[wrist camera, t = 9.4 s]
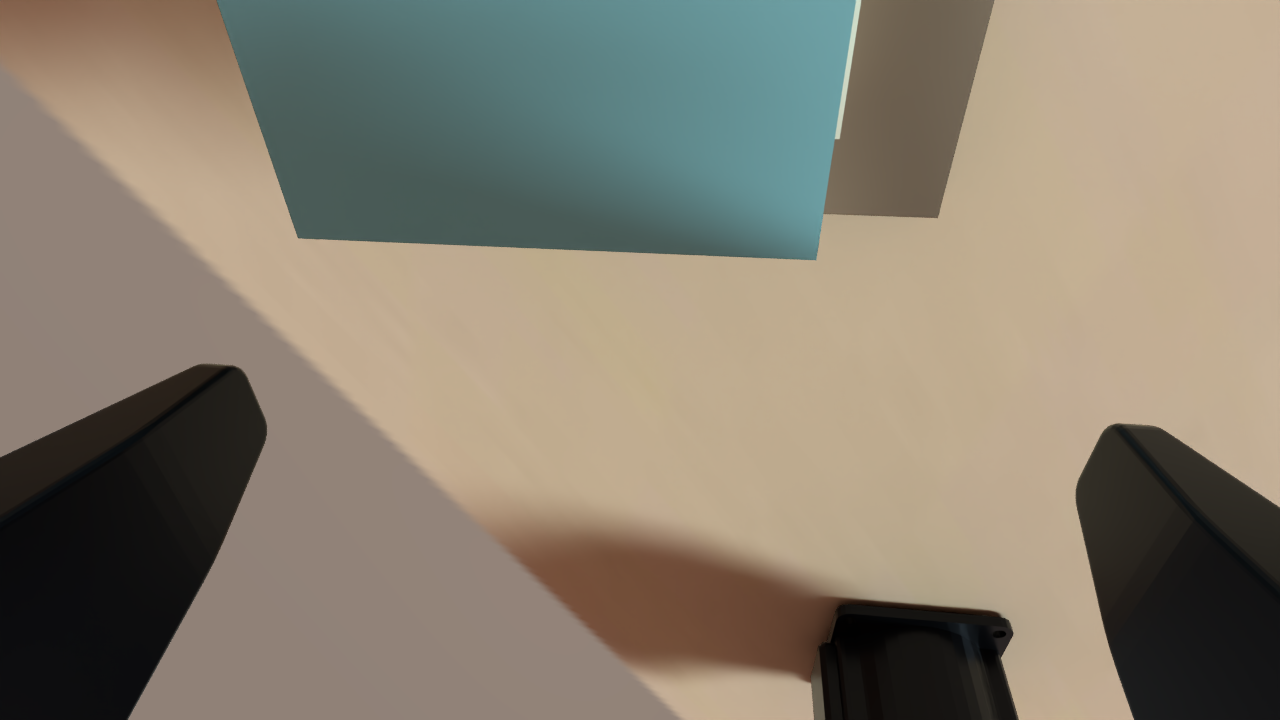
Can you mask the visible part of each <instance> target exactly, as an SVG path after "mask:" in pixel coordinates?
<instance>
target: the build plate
mask: <svg viewBox="0 0 1280 720" xmlns="http://www.w3.org/2000/svg"><path fill="white" fill-rule="evenodd" d="M993 4H994V0H856V4H855V11H854V17H853V24H852V30H851V37H850V43H849V50H848V56H847V63H846V69H845V76H844V82H843V89H842V95H841V102H840V108H839V115H838V121H837V128H836V134H835V141H834V147H833V154H832V160H831V167H830V173H829V180H828V186H827V193H826V199H825V206H824V212H823V214H841V215H869V216H897V217H925V218H938V215H939V211H940V207H941V203H942V199H943V195H944V192H945V188H946V184H947V180H948V176H949V172H950V169H951V165H952V161H953V157H954V153H955V149H956V146H957V142H958V138H959V134H960V130H961V126H962V123H963V119H964V115H965V111H966V107H967V103H968V99H969V96H970V92H971V88H972V84H973V80H974V76H975V73H976V69H977V65H978V61H979V57H980V53H981V50H982V46H983V42H984V38H985V34H986V30H987V27H988V23H989V19H990V15H991V11H992V7H993Z"/></svg>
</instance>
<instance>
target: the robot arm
mask: <svg viewBox="0 0 1280 720" xmlns="http://www.w3.org/2000/svg"><path fill="white" fill-rule="evenodd" d="M266 436H267V424H266V420H265V417H264V415H263V412H262V410H261V408H260V405H259V403H258V401H257V399H256V396H255V394H254V392H253V389H252V387H251V385H250V382H249V380H248V378H247V376H246V374H245V373H244V372H243V371H242V370H241V369H240V368H238V367H236V366H233V365H221V364H199V365H196V366H193V367H191V368H189V369H187V370H185V371H183V372H181V373H178V374H176V375H174V376H172V377H170V378H168V379H166V380H164V381H161V382H159V383H157V384H155V385H153V386H151V387H149V388H147V389H145V390H143V391H140V392H138V393H136V394H134V395H132V396H130V397H128V398H126V399H123V400H122V401H119V402H117V403H115V404H113V405H111V406H109V407H107V408H104V409H102V410H100V411H98V412H96V413H94V414H91V415H89V416H87V417H85V418H83V419H81V420H79V421H77V422H74V423H72V424H70V425H68V426H66V427H64V428H62V429H60V430H58V431H56V432H53V433H51V434H49V435H47V436H45V437H43V438H41V439H39V440H37V441H34V442H32V443H30V444H28V445H26V446H24V447H21V448H19V449H17V450H15V451H13V452H11V453H9V454H7V455H4V456H2V457H0V720H128V718H129V717H130V715H131V713H132V711H133V709H134V707H135V706H136V704H137V702H138V700H139V698H140V696H141V695H142V693H143V691H144V689H145V687H146V686H147V684H148V682H149V680H150V678H151V677H152V675H153V673H154V671H155V669H156V668H157V665H158V664H159V662H160V660H161V658H162V657H163V655H164V653H165V651H166V649H167V648H168V646H169V644H170V642H171V640H172V638H173V637H174V635H175V633H176V631H177V629H178V628H179V626H180V624H181V622H182V620H183V618H184V617H185V615H186V613H187V611H188V609H189V608H190V606H191V604H192V602H193V600H194V598H195V597H196V595H197V593H198V591H199V589H200V587H201V586H202V584H203V582H204V580H205V578H206V576H207V574H208V572H209V571H210V569H211V567H212V565H213V563H214V561H215V558H216V556H217V554H218V552H219V550H220V547H221V545H222V543H223V541H224V539H225V536H226V534H227V532H228V529H229V527H230V524H231V522H232V520H233V517H234V515H235V513H236V510H237V508H238V505H239V503H240V501H241V498H242V496H243V494H244V491H245V489H246V487H247V484H248V482H249V480H250V477H251V475H252V472H253V470H254V468H255V465H256V463H257V461H258V458H259V456H260V453H261V451H262V448H263V446H264V444H265V441H266ZM1076 505H1077V510H1078V515H1079V519H1080V524H1081V528H1082V533H1083V537H1084V541H1085V546H1086V550H1087V555H1088V559H1089V564H1090V568H1091V572H1092V577H1093V581H1094V586H1095V590H1096V595H1097V599H1098V603H1099V608H1100V612H1101V617H1102V621H1103V625H1104V629H1105V633H1106V637H1107V640H1108V644H1109V648H1110V651H1111V654H1112V657H1113V660H1114V663H1115V666H1116V669H1117V672H1118V675H1119V678H1120V681H1121V684H1122V687H1123V689H1124V692H1125V695H1126V698H1127V701H1128V704H1129V707H1130V709H1131V712H1132V715H1133V718H1134V720H1280V507H1278V506H1277V505H1275V504H1274V503H1272V502H1271V501H1269V500H1268V499H1266V498H1265V497H1263V496H1262V495H1260V494H1259V493H1257V492H1256V491H1254V490H1253V489H1251V488H1250V487H1248V486H1247V485H1245V484H1244V483H1242V482H1241V481H1239V480H1238V479H1236V478H1235V477H1233V476H1232V475H1230V474H1229V473H1227V472H1226V471H1224V470H1223V469H1221V468H1220V467H1218V466H1217V465H1215V464H1214V463H1212V462H1211V461H1209V460H1208V459H1206V458H1205V457H1203V456H1202V455H1200V454H1199V453H1197V452H1196V451H1194V450H1193V449H1192V448H1190V447H1189V446H1187V445H1186V444H1184V443H1183V442H1181V441H1180V440H1178V439H1177V438H1175V437H1174V436H1172V435H1171V434H1169V433H1168V432H1166V431H1164V430H1163V429H1161V428H1159V427H1156V426H1150V425H1136V424H1121V423H1118V424H1113V425H1110V426H1108V427H1107V428H1106V429H1105V430H1104V431H1103V433H1102V434H1101V436H1100V438H1099V440H1098V442H1097V444H1096V446H1095V448H1094V450H1093V452H1092V454H1091V456H1090V458H1089V460H1088V462H1087V464H1086V466H1085V468H1084V470H1083V472H1082V474H1081V476H1080V478H1079V480H1078V483H1077V487H1076ZM1012 636H1013V630H1012V627H1011V624H1010V622H1009V620H1007V619H1005V618H1001V617H990V616H979V615H967V614H955V613H944V612H932V611H920V610H908V609H897V608H885V607H873V606H862V605H842V606H840V607H838V608H837V609H836V610H835V614H834V617H833V621H832V625H831V629H830V633H829V637H828V641H827V642H823V643H822V644H821V645H820V646H819V647H818V650H817V654H816V658H815V663H814V667H813V671H812V675H811V685H812V699H813V712H814V720H1019V719H1018V715H1017V712H1016V709H1015V705H1014V702H1013V698H1012V695H1011V692H1010V688H1009V685H1008V681H1007V678H1006V674H1005V671H1004V668H1003V664H1002V661H1001V657H1002V655H1003V653H1004V651H1005V649H1006V647H1007V646H1008V644H1009V642H1010V640H1011V638H1012Z"/></svg>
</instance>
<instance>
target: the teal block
mask: <svg viewBox="0 0 1280 720" xmlns="http://www.w3.org/2000/svg"><path fill="white" fill-rule="evenodd" d="M217 3H218V6H219V9H220V12H221V15H222V18H223V21H224V24H225V27H226V30H227V32H228V35H229V38H230V41H231V44H232V47H233V50H234V53H235V56H236V59H237V62H238V65H239V67H240V70H241V73H242V76H243V79H244V82H245V85H246V88H247V91H248V94H249V97H250V99H251V102H252V105H253V108H254V111H255V114H256V117H257V120H258V123H259V126H260V129H261V132H262V134H263V137H264V140H265V143H266V146H267V149H268V152H269V155H270V158H271V161H272V164H273V167H274V169H275V172H276V175H277V178H278V181H279V184H280V187H281V190H282V193H283V196H284V199H285V202H286V204H287V207H288V210H289V213H290V216H291V219H292V222H293V225H294V228H295V231H296V234H297V237H298V238H303V239H327V240H350V241H374V242H398V243H421V244H445V245H469V246H493V247H516V248H540V249H564V250H587V251H611V252H635V253H658V254H682V255H706V256H729V257H753V258H777V259H800V260H816V258H817V251H818V245H819V238H820V232H821V225H822V219H823V212H824V206H825V199H826V193H827V186H828V180H829V173H830V167H831V160H832V154H833V147H834V141H835V134H836V128H837V121H838V115H839V108H840V102H841V95H842V89H843V82H844V76H845V69H846V63H847V56H848V50H849V43H850V37H851V30H852V24H853V17H854V11H855V4H856V0H217Z"/></svg>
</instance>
